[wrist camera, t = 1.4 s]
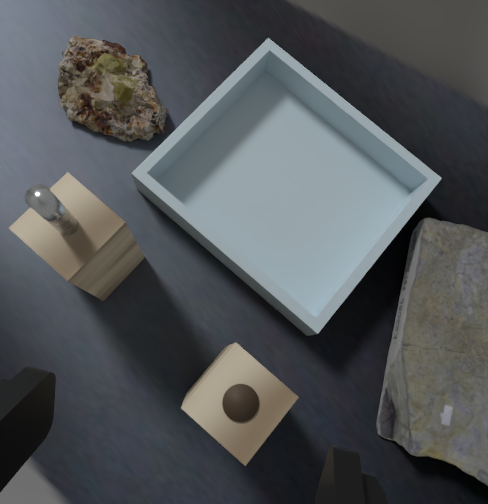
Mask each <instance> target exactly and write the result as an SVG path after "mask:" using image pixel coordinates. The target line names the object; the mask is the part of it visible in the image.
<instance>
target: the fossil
mask: <svg viewBox="0 0 488 504" xmlns="http://www.w3.org/2000/svg"><path fill="white" fill-rule="evenodd" d="M376 425H377V432H378V434H379V435H380V436H381V437H383V438H386V439H389V440H394V441H396V442H397V443H398V444H399V445H401V446H403V447H404V448H405V449H406V451H407V452H409V453H410V454H411V455H414V456H430V457H432V458H436V459H440V460H443V461H446V462H448V463H451V464H453V465H456V466H457V467H458V468H460V469H461V470H462V471H464V472H465V473H467V474H469V475H472V476H474V477H475V478H477V479H478V480H479V481H481V482H483V483H484V484H486V485H487V486H488V232H484V231H481V230H478V229H475V228H473V227H470V226H466V225H462V224H454V223H451V222H446V221H439V220H436V219H433V218H424V219H423V220H421V221H420V222H419V223H418V225H417V227H416V228H415V229H414V230H413V233H412V236H411V239H410V244H409V249H408V255H407V260H406V266H405V272H404V277H403V282H402V287H401V293H400V298H399V304H398V309H397V314H396V318H395V325H394V330H393V334H392V341H391V344H390V348H389V354H388V358H387V365H386V370H385V377H384V383H383V389H382V394H381V399H380V405H379V411H378V417H377V424H376Z"/></svg>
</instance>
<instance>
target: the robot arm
mask: <svg viewBox="0 0 488 504" xmlns="http://www.w3.org/2000/svg"><path fill="white" fill-rule="evenodd" d="M55 382H56V378H55V374H54V373H52V372H48V371H44V370H40V369H36V368H32V367H26V368H25V369H23V370H22V371H21V372H20V373H19V374H18V375H17V376H15V377H14V378H13V379H12V380H11V381H8V380H2V381H0V492H1V491H2V490H3V488H4V487H5V486H6V485H7V483H8V482H9V481H10V480H11V479H12V477H13V476H14V475H15V474H16V472H18V470H19V469H20V468H21V466H23V464H24V463H25V462H26V461H27V460H28V458H29V457H30V456H31V455H32V454H33V452H34V451H35V450H36V449H37V448H38V446H39V445H40V444H41V443H42V442H43V440H44V439H45V438H46V436H47V434H48V432H49V430H50V428H51V425H52V421H53V414H54V398H55ZM315 504H388V502H387V496H386V493H385V492H384V490H383V488H382V487H381V485H380V484H379V482H378V480H377V479H376V477H373V476H369V475H366V474H362V472H361V464H360V456H359V452H357V451H353V450H349V449H345V448H341V447H337V446H333V445H331V446H330V448H329V451H328V454H327V458H326V461H325V465H324V468H323V471H322V475H321V478H320V482H319V485H318V489H317V493H316V498H315Z"/></svg>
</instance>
